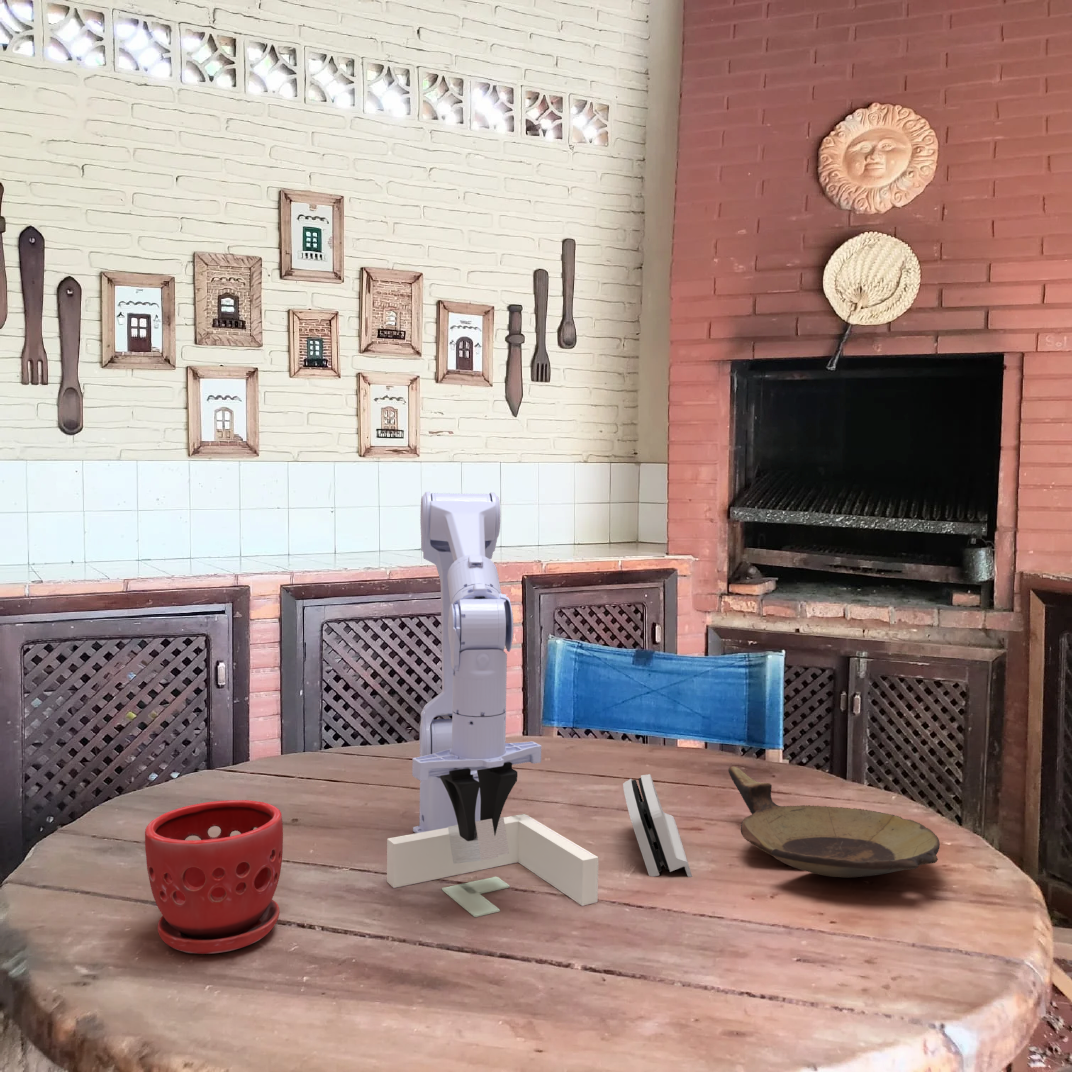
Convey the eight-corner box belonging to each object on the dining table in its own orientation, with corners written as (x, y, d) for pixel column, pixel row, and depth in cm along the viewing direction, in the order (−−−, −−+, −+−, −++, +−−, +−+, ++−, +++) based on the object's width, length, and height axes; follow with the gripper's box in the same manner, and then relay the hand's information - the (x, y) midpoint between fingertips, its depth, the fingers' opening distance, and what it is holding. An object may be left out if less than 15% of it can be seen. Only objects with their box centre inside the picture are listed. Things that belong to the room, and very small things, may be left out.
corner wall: (386, 881, 116) (387, 838, 115) (524, 853, 125) (524, 813, 124) (448, 938, 102) (449, 889, 101) (597, 902, 111) (598, 857, 111)
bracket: (530, 850, 109) (524, 812, 110) (481, 860, 106) (475, 821, 107) (501, 854, 115) (495, 818, 116) (453, 863, 112) (447, 826, 113)
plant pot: (275, 899, 110) (275, 791, 110) (290, 954, 98) (290, 832, 97) (146, 916, 106) (145, 802, 105) (144, 975, 93) (143, 847, 93)
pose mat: (441, 889, 114) (441, 888, 114) (496, 878, 117) (496, 876, 117) (474, 917, 107) (474, 915, 107) (532, 903, 110) (532, 902, 110)
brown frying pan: (796, 918, 108) (798, 847, 108) (697, 822, 138) (699, 766, 137) (984, 904, 113) (987, 836, 112) (849, 814, 142) (851, 760, 141)
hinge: (692, 878, 118) (665, 797, 118) (653, 890, 118) (626, 810, 118) (677, 827, 135) (653, 757, 134) (643, 838, 135) (619, 768, 135)
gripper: (433, 726, 101) (431, 860, 102) (557, 711, 109) (554, 836, 109) (404, 711, 107) (403, 838, 108) (523, 698, 115) (521, 816, 115)
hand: (477, 836), depth 109 cm, fingers closed on bracket, 2 cm apart
